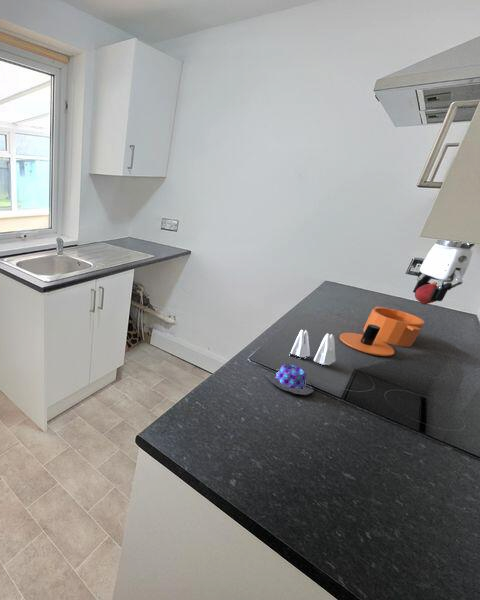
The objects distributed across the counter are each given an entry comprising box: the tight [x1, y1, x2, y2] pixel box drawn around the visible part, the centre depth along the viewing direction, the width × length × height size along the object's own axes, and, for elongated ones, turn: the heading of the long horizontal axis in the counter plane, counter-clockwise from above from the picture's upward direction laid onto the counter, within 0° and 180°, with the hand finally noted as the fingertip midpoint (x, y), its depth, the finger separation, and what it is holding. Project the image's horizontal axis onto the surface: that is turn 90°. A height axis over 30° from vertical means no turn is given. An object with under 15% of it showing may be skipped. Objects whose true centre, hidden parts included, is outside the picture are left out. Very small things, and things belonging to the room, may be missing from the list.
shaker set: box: [290, 329, 337, 366], centre depth 102 cm, size 12×4×11 cm, turn 49°
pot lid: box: [339, 324, 395, 357], centre depth 114 cm, size 16×16×8 cm
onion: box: [414, 281, 438, 305], centre depth 103 cm, size 6×6×8 cm
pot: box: [362, 306, 426, 348], centre depth 121 cm, size 15×20×10 cm
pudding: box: [275, 363, 307, 389], centre depth 91 cm, size 12×12×5 cm
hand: (426, 296), depth 103 cm, fingers closed on onion, 5 cm apart
